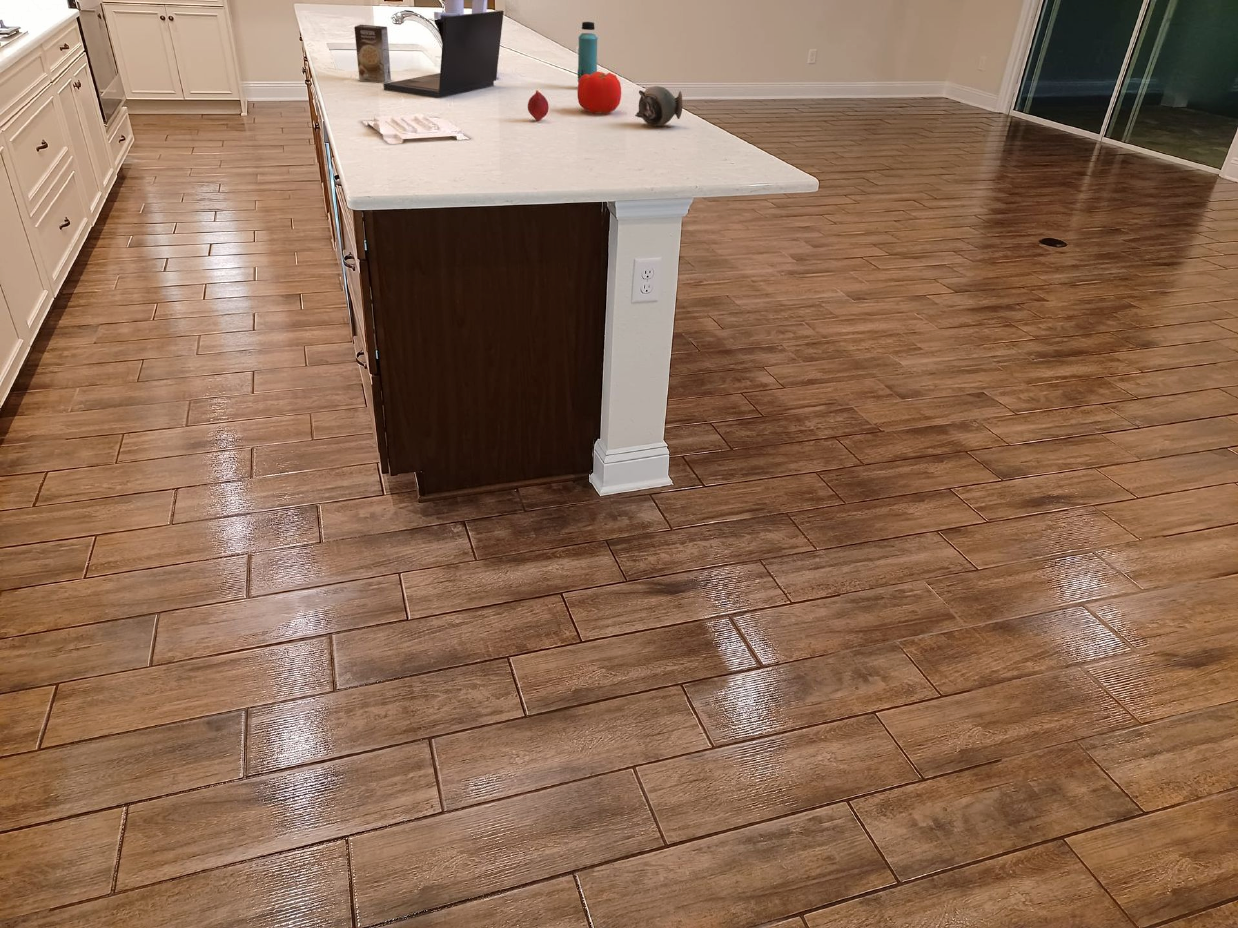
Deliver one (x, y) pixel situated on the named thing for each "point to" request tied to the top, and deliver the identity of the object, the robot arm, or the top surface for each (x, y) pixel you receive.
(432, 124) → the tray
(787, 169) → the top surface
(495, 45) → the laptop screen
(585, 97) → the tomato
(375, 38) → the coffee box
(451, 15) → the robot arm
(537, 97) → the onion
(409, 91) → the laptop
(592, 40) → the beverage bottle
